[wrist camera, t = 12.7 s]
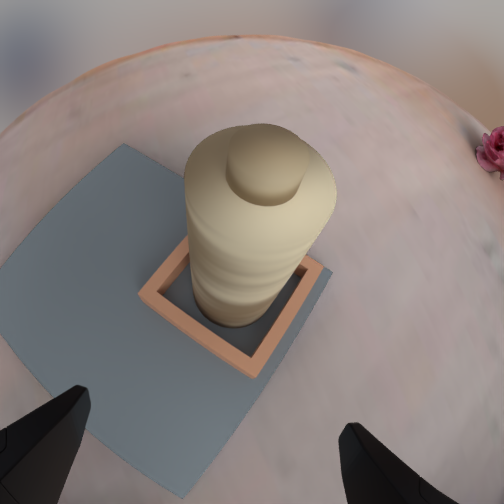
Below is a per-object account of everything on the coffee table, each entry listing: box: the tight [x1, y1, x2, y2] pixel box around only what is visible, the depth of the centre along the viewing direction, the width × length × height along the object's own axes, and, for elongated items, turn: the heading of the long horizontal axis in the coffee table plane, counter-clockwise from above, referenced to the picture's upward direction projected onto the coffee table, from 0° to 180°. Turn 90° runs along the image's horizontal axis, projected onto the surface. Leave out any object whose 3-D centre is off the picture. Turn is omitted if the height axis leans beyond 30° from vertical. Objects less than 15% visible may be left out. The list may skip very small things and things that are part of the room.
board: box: [0, 143, 333, 499], centre depth 18 cm, size 20×18×2 cm
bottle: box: [184, 124, 337, 328], centre depth 14 cm, size 5×5×12 cm
